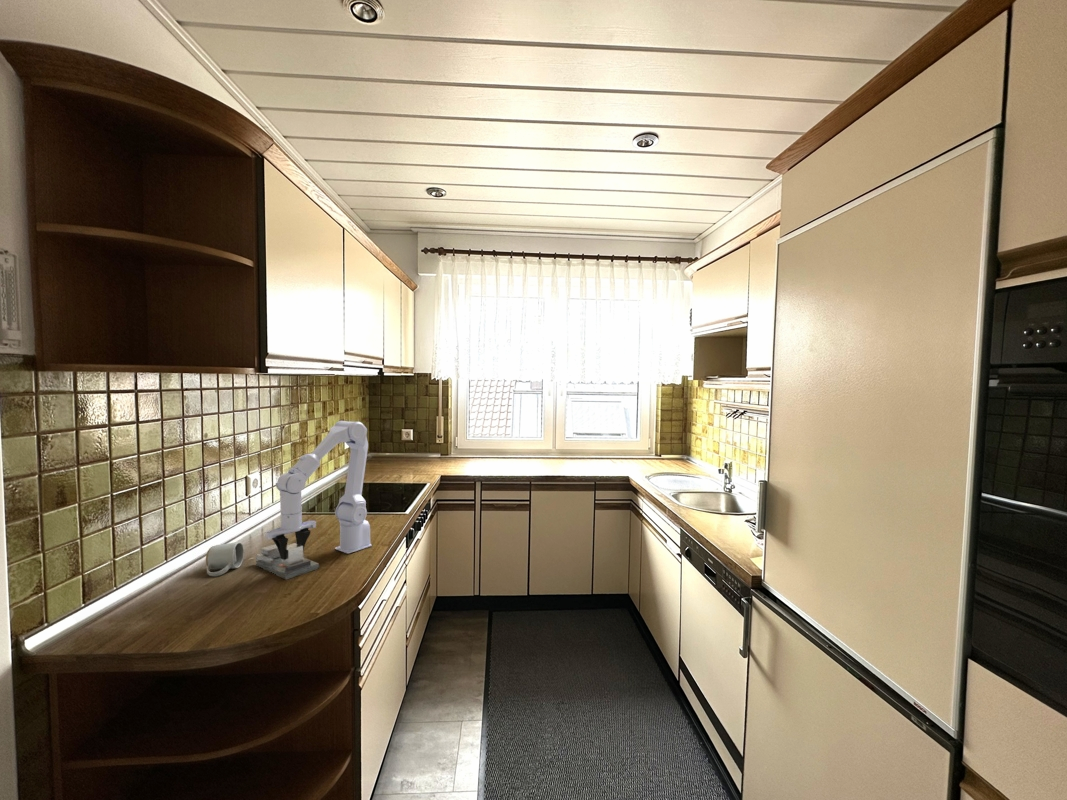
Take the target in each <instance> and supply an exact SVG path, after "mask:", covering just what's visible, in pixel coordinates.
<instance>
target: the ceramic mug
mask: <svg viewBox="0 0 1067 800" xmlns="http://www.w3.org/2000/svg"><path fill="white" fill-rule="evenodd" d="M244 553H245V552H244V546H243V544H242V542H241V541H237V542H230V543H229V542H227V543H220V544H216V545H215V544H214V545H211V546H210V548H208V550H207V551H206V555H205V564H206V573H207V575H208V576H209V577H219V576H223V575H224V574H225V573H227V572H228V571H229V570H230V569H231V570H232V569H238V568H240V566H241V565H242V564H243V561H244ZM210 570H218V571H214V572H213V571H212V572H211V571H210Z"/></svg>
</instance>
